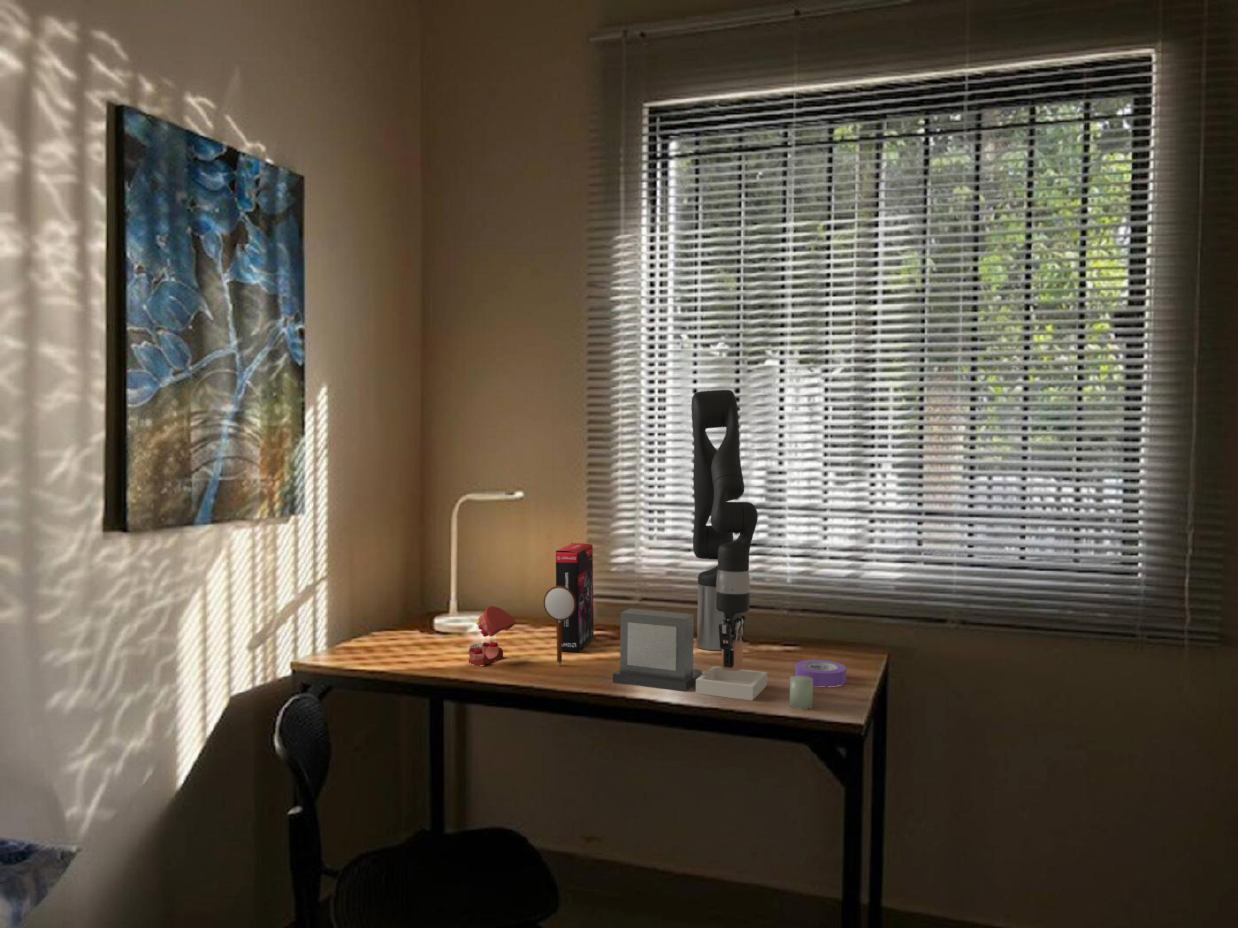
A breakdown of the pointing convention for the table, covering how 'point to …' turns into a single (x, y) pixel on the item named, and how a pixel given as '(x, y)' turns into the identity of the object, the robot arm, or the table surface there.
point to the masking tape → (822, 672)
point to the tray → (731, 683)
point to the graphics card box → (577, 593)
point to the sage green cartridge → (801, 692)
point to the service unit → (657, 650)
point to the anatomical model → (490, 625)
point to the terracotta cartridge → (735, 657)
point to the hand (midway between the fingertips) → (731, 663)
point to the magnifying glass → (559, 610)
